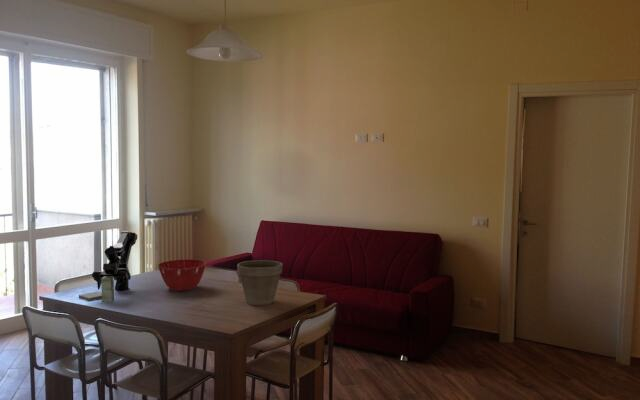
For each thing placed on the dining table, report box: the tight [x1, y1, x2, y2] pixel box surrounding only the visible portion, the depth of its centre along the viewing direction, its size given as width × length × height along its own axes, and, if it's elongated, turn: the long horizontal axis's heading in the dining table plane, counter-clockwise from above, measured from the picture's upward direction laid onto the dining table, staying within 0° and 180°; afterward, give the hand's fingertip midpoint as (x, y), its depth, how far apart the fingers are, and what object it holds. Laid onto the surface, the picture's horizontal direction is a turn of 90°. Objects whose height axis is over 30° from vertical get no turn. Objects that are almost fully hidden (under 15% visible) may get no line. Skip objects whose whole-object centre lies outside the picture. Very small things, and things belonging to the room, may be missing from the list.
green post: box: [100, 276, 115, 302], centre depth 307 cm, size 5×5×13 cm
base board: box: [78, 291, 102, 302], centre depth 313 cm, size 11×11×2 cm
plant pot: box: [236, 259, 284, 306], centre depth 304 cm, size 25×25×22 cm
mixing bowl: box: [157, 258, 207, 292], centre depth 335 cm, size 28×28×16 cm
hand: (106, 289), depth 305 cm, fingers open, 9 cm apart
